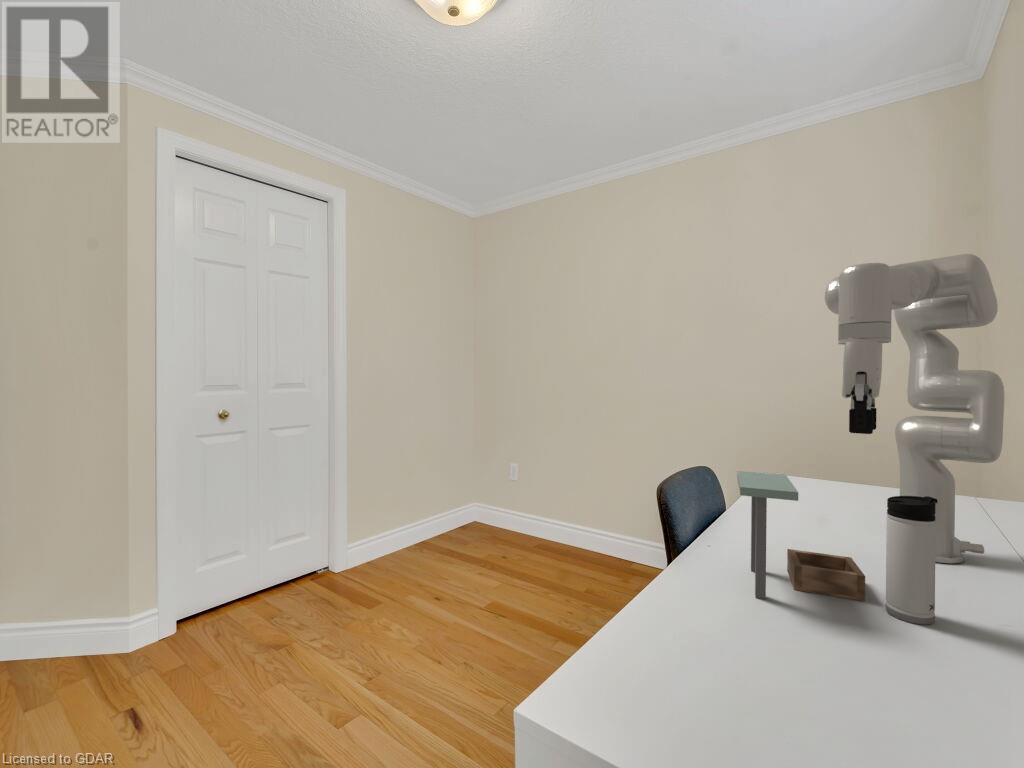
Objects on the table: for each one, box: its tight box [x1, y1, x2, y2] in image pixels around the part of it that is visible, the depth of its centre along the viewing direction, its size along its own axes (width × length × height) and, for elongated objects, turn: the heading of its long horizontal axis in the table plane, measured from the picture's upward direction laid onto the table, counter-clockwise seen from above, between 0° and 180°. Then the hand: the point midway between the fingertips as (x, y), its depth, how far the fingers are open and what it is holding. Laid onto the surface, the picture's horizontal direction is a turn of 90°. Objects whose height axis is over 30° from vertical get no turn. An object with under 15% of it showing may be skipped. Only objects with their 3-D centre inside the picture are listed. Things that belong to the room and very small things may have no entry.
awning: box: [736, 470, 799, 601], centre depth 90 cm, size 9×17×20 cm, turn 156°
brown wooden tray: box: [786, 548, 866, 602], centre depth 90 cm, size 11×10×4 cm
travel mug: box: [885, 495, 937, 626], centre depth 78 cm, size 6×7×20 cm
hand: (863, 431), depth 83 cm, fingers open, 9 cm apart
